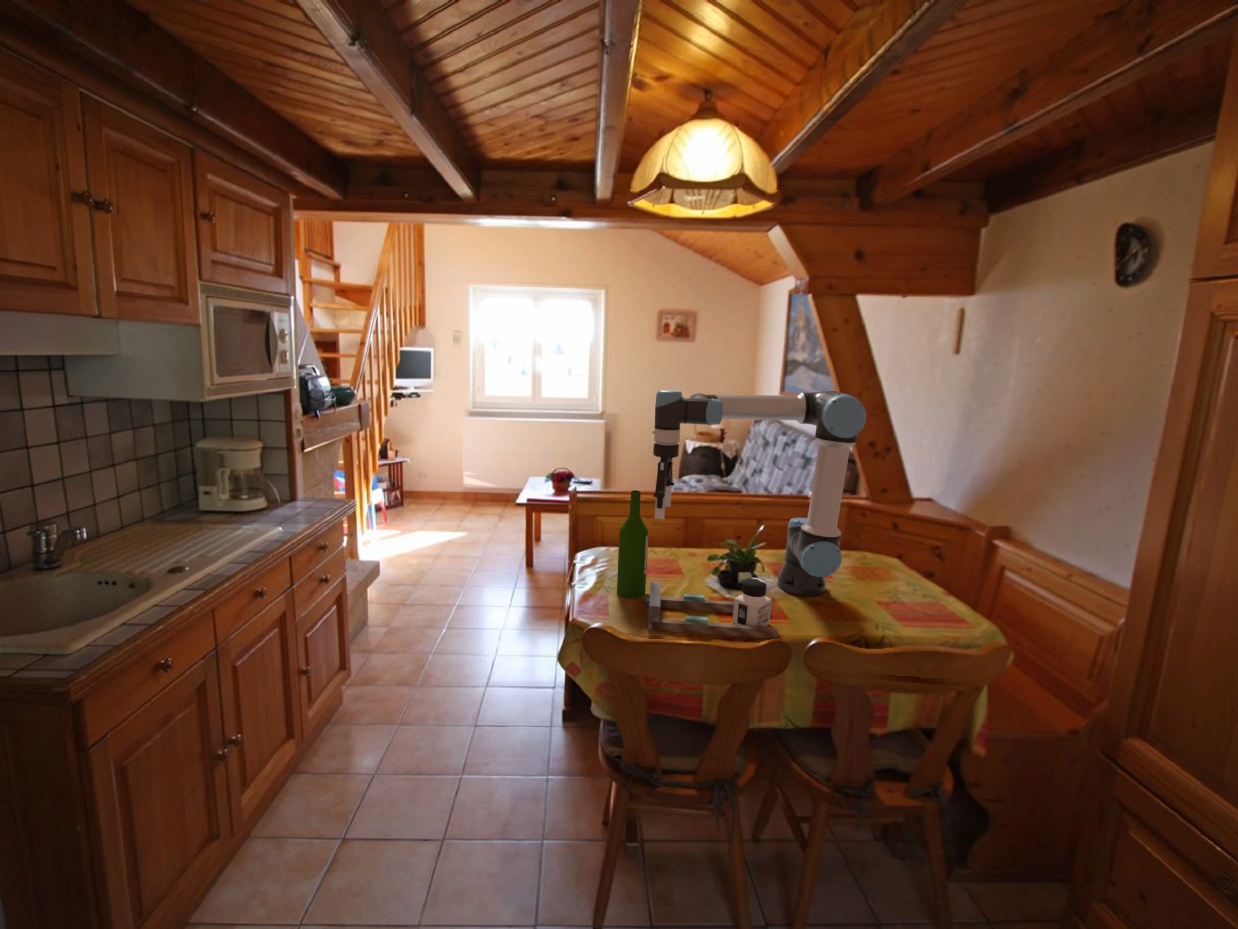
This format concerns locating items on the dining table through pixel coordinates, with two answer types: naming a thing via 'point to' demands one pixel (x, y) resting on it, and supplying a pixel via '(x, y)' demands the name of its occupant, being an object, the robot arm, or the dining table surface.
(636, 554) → the wine bottle
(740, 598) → the container
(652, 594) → the wooden frame
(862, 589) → the dining table surface
